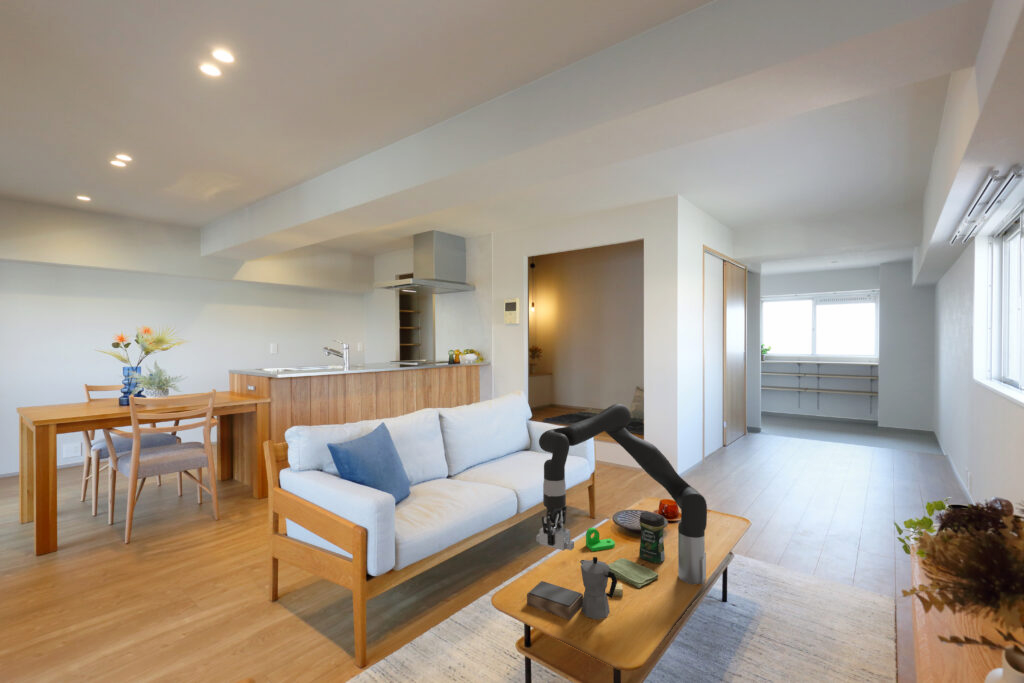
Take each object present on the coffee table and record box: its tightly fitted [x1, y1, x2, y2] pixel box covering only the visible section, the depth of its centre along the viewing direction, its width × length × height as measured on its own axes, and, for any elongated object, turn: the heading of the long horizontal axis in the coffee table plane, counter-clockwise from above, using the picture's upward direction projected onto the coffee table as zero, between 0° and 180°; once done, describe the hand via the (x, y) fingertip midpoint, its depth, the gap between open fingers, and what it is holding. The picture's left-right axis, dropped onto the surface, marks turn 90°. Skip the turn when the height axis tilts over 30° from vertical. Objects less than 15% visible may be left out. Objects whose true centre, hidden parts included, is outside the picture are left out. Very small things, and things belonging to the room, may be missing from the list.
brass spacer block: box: [613, 582, 624, 598], centre depth 165 cm, size 4×4×3 cm
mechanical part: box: [585, 527, 616, 552], centre depth 202 cm, size 12×6×8 cm, turn 109°
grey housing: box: [535, 526, 575, 551], centre depth 158 cm, size 5×13×5 cm, turn 57°
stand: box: [526, 580, 584, 621], centre depth 158 cm, size 16×10×4 cm, turn 57°
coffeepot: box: [579, 556, 618, 620], centre depth 153 cm, size 15×9×18 cm, turn 39°
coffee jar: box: [638, 510, 666, 564], centre depth 191 cm, size 10×8×19 cm
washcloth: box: [607, 557, 659, 589], centre depth 178 cm, size 13×18×3 cm
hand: (554, 541), depth 158 cm, fingers closed on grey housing, 5 cm apart
